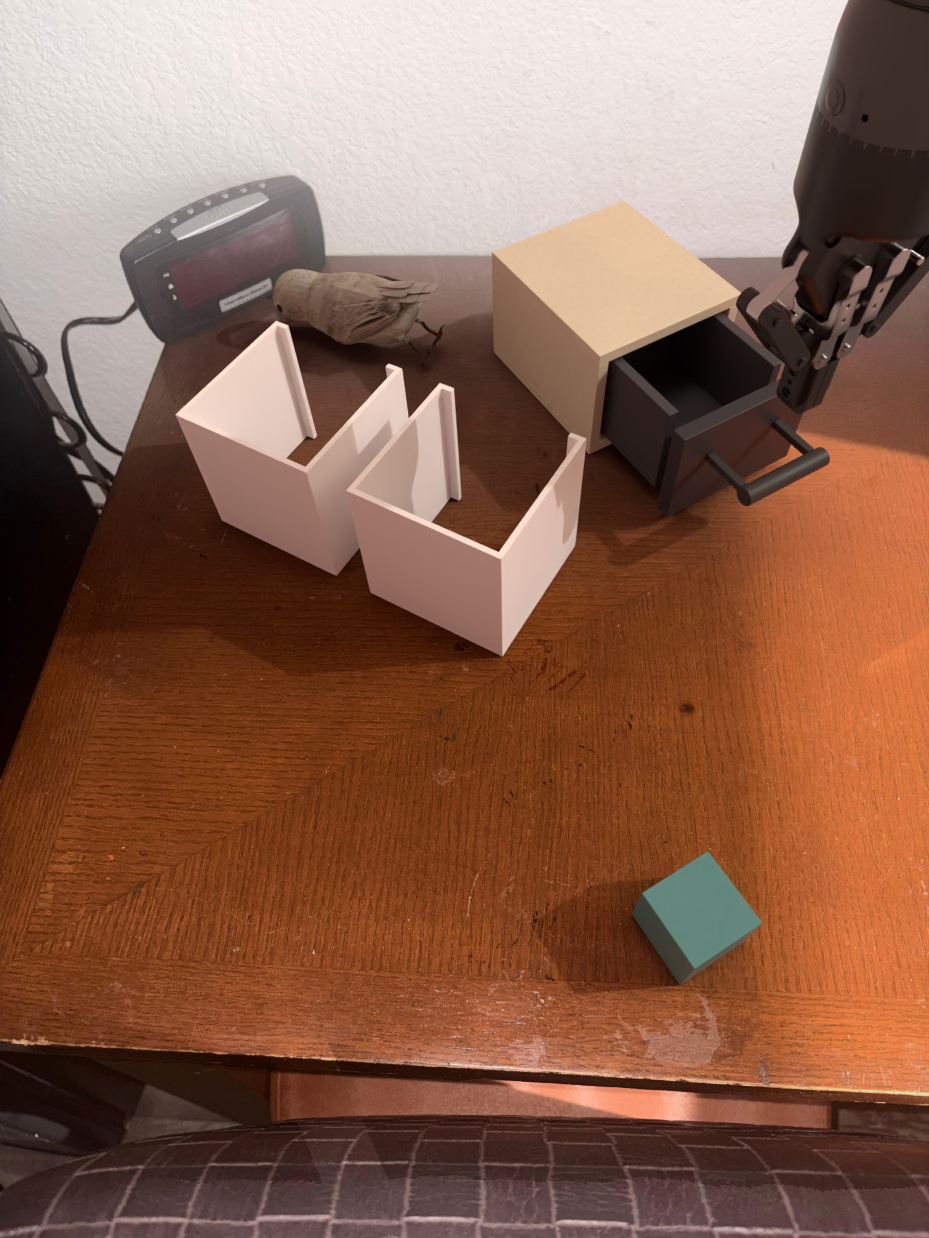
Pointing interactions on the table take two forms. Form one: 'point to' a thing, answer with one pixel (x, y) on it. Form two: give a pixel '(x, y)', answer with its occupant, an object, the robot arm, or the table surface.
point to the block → (694, 917)
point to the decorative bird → (354, 305)
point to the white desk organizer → (374, 493)
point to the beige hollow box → (594, 306)
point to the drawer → (704, 415)
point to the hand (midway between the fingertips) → (798, 402)
